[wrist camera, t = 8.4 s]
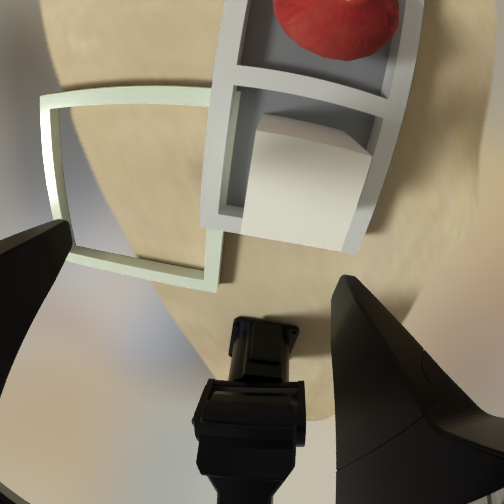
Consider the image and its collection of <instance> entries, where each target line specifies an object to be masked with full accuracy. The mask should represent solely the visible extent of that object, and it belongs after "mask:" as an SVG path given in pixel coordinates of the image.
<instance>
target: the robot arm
mask: <svg viewBox="0 0 504 504" xmlns="http://www.w3.org/2000/svg"><path fill="white" fill-rule="evenodd" d="M72 245H73V239H72V234H71V228H70V223H69V222H68V221H67V220H63V219H56V220H53V221H51V222H48V223H45V224H42V225H39V226H36V227H34V228H31V229H28V230H26V231H23V232H20V233H18V234H15V235H12V236H10V237H8V238H5V239H3V240H0V397H1V394H2V391H3V388H4V385H5V383H6V379H7V377H8V374H9V372H10V369H11V367H12V365H13V362H14V360H15V358H16V355H17V353H18V351H19V349H20V346H21V344H22V342H23V340H24V338H25V336H26V334H27V332H28V330H29V328H30V325H31V324H32V322H33V319H34V318H35V316H36V314H37V312H38V310H39V308H40V307H41V305H42V303H43V301H44V299H45V298H46V296H47V294H48V292H49V291H50V289H51V287H52V285H53V284H54V282H55V280H56V278H57V276H58V274H59V272H60V270H61V268H62V266H63V264H64V262H65V260H66V258H67V256H68V254H69V252H70V250H71V248H72ZM298 334H299V328H298V327H296V326H290V325H282V324H275V323H269V322H262V321H256V320H249V319H243V318H235V319H234V322H233V328H232V335H231V341H230V348H229V356H230V357H232V359H231V366H230V372H229V378H228V381H224V380H215V379H209V380H208V382H207V384H206V386H205V388H204V390H203V393H202V395H201V398H200V401H199V403H198V406H197V408H196V411H195V413H194V417H193V418H192V424H193V425H194V428H195V436H196V438H197V440H198V441H199V447H198V454H197V460H196V464H197V466H198V469H199V471H200V473H201V474H202V475H206V476H208V478H209V480H210V481H211V483H212V485H213V486H214V488H215V490H216V491H217V496H218V497H217V504H273V495H274V493H275V492H276V491H277V490H278V488H279V487H280V486H281V485H282V483H283V482H284V481H285V479H286V478H287V477H288V475H289V474H290V472H291V471H292V470H293V469H294V467H295V456H296V447H304V445H305V435H306V406H305V386H304V381H298V382H289V355H290V353H291V350H292V348H293V346H294V344H295V341H296V339H297V337H298ZM331 355H332V368H333V382H334V398H335V418H336V419H335V420H336V460H337V461H336V466H337V467H336V469H337V472H336V504H504V418H501V417H496V416H493V415H490V414H488V413H486V412H484V411H483V410H482V409H480V408H479V407H478V406H477V405H476V404H475V403H474V402H473V401H472V400H471V399H470V397H469V396H468V395H467V394H466V393H465V392H464V391H463V390H462V389H461V388H460V387H459V386H458V385H457V384H456V383H455V382H454V381H453V380H452V379H451V378H450V377H449V376H448V375H447V374H446V373H445V372H444V371H443V370H442V369H441V368H440V367H439V365H438V364H437V363H436V362H435V361H434V360H433V359H432V358H431V356H430V355H429V354H428V353H427V352H426V351H425V350H424V351H423V347H422V346H421V345H420V344H419V343H418V342H417V341H416V340H415V339H414V337H413V336H412V335H411V334H410V333H409V332H408V331H407V330H406V329H405V328H404V327H403V326H402V324H401V323H400V322H399V321H398V320H397V319H396V318H395V317H394V316H393V315H392V314H391V313H390V312H389V311H388V310H387V309H386V307H385V306H384V305H383V304H382V303H381V302H380V301H379V300H378V299H377V298H376V297H375V296H374V295H373V294H372V293H371V292H370V291H369V290H368V289H367V288H366V287H365V286H364V285H363V284H362V283H361V282H360V281H359V280H358V279H357V278H356V277H355V276H350V275H345V274H344V275H342V276H341V277H340V279H339V281H338V284H337V286H336V288H335V290H334V293H333V295H332V299H331ZM0 504H30V503H28V502H27V501H25V500H24V499H22V498H21V497H19V496H18V495H17V494H15V493H14V492H13V491H11V490H10V489H9V488H7V487H6V486H5V485H3V484H2V483H1V482H0Z"/></svg>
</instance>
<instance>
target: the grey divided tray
mask: <svg viewBox="0 0 504 504" xmlns="http://www.w3.org/2000/svg"><path fill="white" fill-rule="evenodd" d="M397 1H398V4H399V24H398V28H397V30H396V31H395V33H394V35H393V36H392V38H391V40H390V42H389V43H388V44H386V45H385V46H384V47H382V48H381V49H380V50H378V51H377V52H376V53H374V54H373V55H371V56H368V57H364V58H360V59H356V60H352V61H342V60H335V59H328V58H323V57H321V56H319V55H317V54H315V53H313V52H311V51H308V50H306V49H304V48H302V47H300V46H299V45H298V44H297V43H296V42H295V41H294V40H292V39H291V38H290V37H289V36H288V35H287V34H285V32H284V30H283V28H282V27H281V25H280V23H279V21H278V20H277V18H276V16H275V14H274V8H273V0H225V4H224V10H223V15H222V21H221V27H220V33H219V39H218V45H217V52H216V58H215V65H214V72H213V80H212V87H211V95H210V103H209V112H208V121H207V130H206V140H205V151H204V162H203V174H202V187H201V201H200V217H199V227H201V228H207V229H213V230H219V231H225V232H231V233H237V234H240V232H241V225H242V219H243V212H244V205H245V198H246V192H247V185H248V179H249V172H250V166H251V159H252V153H253V147H254V140H255V134H256V129H257V127H258V125H259V122H260V120H261V118H262V115H263V114H270V115H275V116H281V117H286V118H291V119H296V120H301V121H306V122H311V123H315V124H319V125H324V126H328V127H332V128H336V129H340V130H343V131H345V132H346V133H347V134H348V135H349V136H350V137H352V138H353V139H354V140H355V141H356V142H357V143H358V144H359V145H361V146H362V147H363V148H364V149H365V150H366V151H367V152H368V153H369V154H370V155H371V156H372V160H371V163H370V167H369V170H368V173H367V176H366V180H365V183H364V186H363V189H362V192H361V195H360V198H359V201H358V204H357V207H356V210H355V213H354V216H353V219H352V222H351V225H350V227H349V230H348V233H347V236H346V238H345V241H344V244H343V247H342V249H341V252H345V253H351V254H356V255H357V253H358V251H359V248H360V246H361V243H362V241H363V238H364V236H365V233H366V231H367V228H368V225H369V223H370V220H371V217H372V215H373V212H374V209H375V206H376V204H377V201H378V198H379V195H380V192H381V189H382V187H383V184H384V181H385V178H386V175H387V171H388V168H389V165H390V162H391V159H392V155H393V152H394V149H395V145H396V142H397V139H398V135H399V131H400V128H401V124H402V120H403V116H404V113H405V109H406V104H407V100H408V96H409V92H410V87H411V83H412V78H413V73H414V68H415V63H416V58H417V52H418V46H419V40H420V33H421V26H422V19H423V10H424V0H397ZM236 91H241V97H240V104H239V110H238V117H237V125H236V132H235V139H234V147H233V154H232V162H231V170H230V178H229V186H228V195H227V203H226V206H222V196H223V187H224V178H225V170H226V161H227V153H228V145H229V137H230V130H231V122H232V115H233V107H234V100H235V93H236Z"/></svg>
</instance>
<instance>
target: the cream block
mask: <svg viewBox="0 0 504 504" xmlns="http://www.w3.org/2000/svg"><path fill="white" fill-rule="evenodd" d="M371 160H372V156H371V155H370V154H369V153H368V152H367V151H366V150H365V149H364V148H363V147H362V146H361V145H359V144H358V143H357V142H356V141H355V140H354V139H353V138H352V137H350V136H349V135H348V134H347V133H346V132H345V131H343V130H340V129H336V128H332V127H328V126H324V125H319V124H315V123H311V122H306V121H301V120H296V119H291V118H286V117H281V116H275V115H270V114H263V115H262V118H261V120H260V122H259V125H258V127H257V129H256V134H255V140H254V147H253V153H252V159H251V166H250V172H249V179H248V185H247V192H246V198H245V205H244V212H243V219H242V225H241V232H240V234H242V235H248V236H254V237H260V238H266V239H271V240H277V241H283V242H289V243H294V244H300V245H306V246H311V247H317V248H322V249H328V250H333V251H339V252H341V249H342V247H343V244H344V241H345V238H346V236H347V233H348V230H349V227H350V225H351V222H352V219H353V216H354V213H355V210H356V207H357V204H358V201H359V198H360V195H361V192H362V189H363V186H364V183H365V180H366V176H367V173H368V170H369V167H370V163H371Z"/></svg>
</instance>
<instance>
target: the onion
mask: <svg viewBox="0 0 504 504" xmlns="http://www.w3.org/2000/svg"><path fill="white" fill-rule="evenodd" d="M273 8H274V14H275V16H276V18H277V20H278V21H279V23H280V25H281V27H282V28H283V30H284V32H285V34H287V35H288V36H289V37H290V38H291V39H292V40H294V41H295V42H296V43H297V44H298V45H299V46H300V47H302V48H304V49H306V50H308V51H311V52H313V53H315V54H317V55H319V56H321V57H323V58H328V59H335V60H342V61H352V60H356V59H360V58H364V57H368V56H371V55H373V54H374V53H376V52H377V51H378V50H380V49H381V48H382V47H384V46H385V45H386V44H388V43H389V42H390V40H391V38H392V36H393V35H394V33H395V31H396V30H397V28H398V24H399V4H398V1H397V0H273Z"/></svg>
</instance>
